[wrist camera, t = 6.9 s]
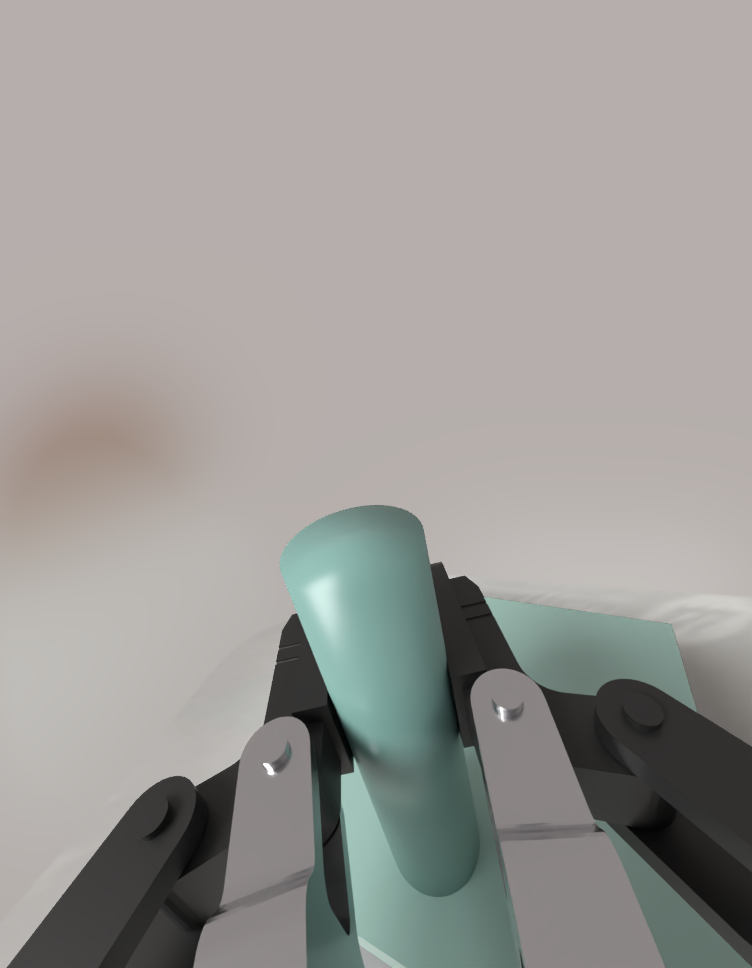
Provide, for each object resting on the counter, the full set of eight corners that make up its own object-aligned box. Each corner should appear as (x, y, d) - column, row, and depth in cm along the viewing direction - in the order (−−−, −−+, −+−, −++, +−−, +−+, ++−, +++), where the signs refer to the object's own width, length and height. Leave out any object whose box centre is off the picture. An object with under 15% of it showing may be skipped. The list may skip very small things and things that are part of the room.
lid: (665, 659, 15) (714, 368, 11) (819, 1272, 6) (1996, 1229, 1) (372, 605, 22) (318, 411, 17) (223, 859, 12) (5, 585, 8)
